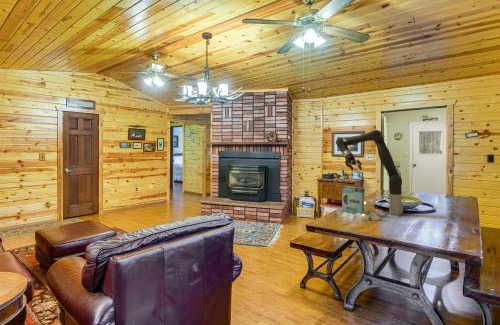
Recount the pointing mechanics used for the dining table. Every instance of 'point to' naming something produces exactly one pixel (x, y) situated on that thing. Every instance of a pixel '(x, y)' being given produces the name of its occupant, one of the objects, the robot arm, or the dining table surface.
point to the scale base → (365, 218)
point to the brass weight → (367, 207)
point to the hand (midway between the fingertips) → (357, 169)
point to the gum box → (353, 199)
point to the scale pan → (367, 215)
